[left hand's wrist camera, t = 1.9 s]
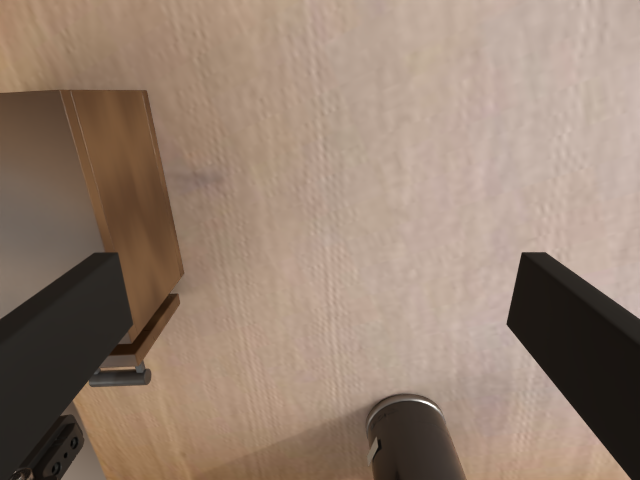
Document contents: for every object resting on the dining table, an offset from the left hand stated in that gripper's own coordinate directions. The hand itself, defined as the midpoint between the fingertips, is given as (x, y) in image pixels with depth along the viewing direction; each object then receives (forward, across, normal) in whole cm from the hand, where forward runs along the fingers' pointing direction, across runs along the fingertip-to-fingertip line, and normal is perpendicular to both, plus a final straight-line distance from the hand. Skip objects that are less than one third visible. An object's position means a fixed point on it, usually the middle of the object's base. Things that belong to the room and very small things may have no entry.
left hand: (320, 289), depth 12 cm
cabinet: (+23, -20, -3) cm, 31 cm away
